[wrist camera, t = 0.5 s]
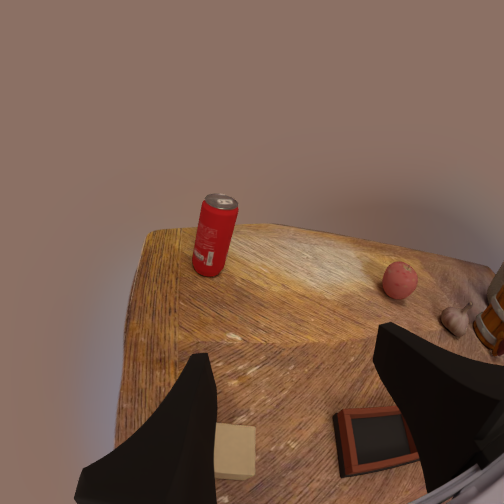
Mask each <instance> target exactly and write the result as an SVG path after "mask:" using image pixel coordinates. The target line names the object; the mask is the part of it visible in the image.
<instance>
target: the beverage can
mask: <svg viewBox="0 0 504 504" xmlns="http://www.w3.org/2000/svg"><path fill="white" fill-rule="evenodd" d="M237 214H238V202H237V201H236V200H235V199H233V198H232V197H229V196H227V195H223V194H210V195H207V196H206V197H205V200H204V201H203V203H202V207H201V213H200V218H199V223H198V229H197V234H196V240H195V246H194V252H193V258H192V263H193V265H194V269H195V271H196V272H197V273H198V274H200V275H202V276H206V277H213V276H216V275H218V274H219V273H220V271H221V270H222V269H223V268H224V265H225V261H226V257H227V253H228V249H229V245H230V241H231V237H232V234H233V230H234V226H235V222H236V218H237Z"/></svg>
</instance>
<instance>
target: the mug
mask: <svg viewBox="0 0 504 504" xmlns="http://www.w3.org/2000/svg"><path fill="white" fill-rule="evenodd" d="M473 327H474V329H475V332H476V335H477V336H478V338H479V339H480V340H481V342H482V343H484V345H485V346H487V347H488V348H489V349H492V355H493V356H494V357H495V356H497V355H498V356H500V355H502V354H504V285H502V287H501V289H500V291H499V292H498V293H497V294H495V295H494V296H493V297H492V298H491V303H490V304H489V306H488V307H487V308H486V310H485V311H484V312H481V313H480V314H478V315H477V316H476V320H475V321H474V322H473Z"/></svg>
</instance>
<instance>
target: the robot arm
mask: <svg viewBox="0 0 504 504" xmlns="http://www.w3.org/2000/svg"><path fill="white" fill-rule="evenodd" d="M373 363H374V365H375V368H376V370H377V372H378V374H379V377H380V379H381V381H382V382H383V384H384V386H385V387H386V389H387V390H388V392H389V394H390V395H391V397H392V399H393V400H394V402H395V404H396V405H397V407H398V408H399V410H400V412H401V413H402V415H403V417H404V419H405V421H406V423H407V426H408V428H409V430H410V433H411V435H412V438H413V441H414V443H415V446H416V449H417V452H418V455H419V459H420V462H421V466H422V469H423V474H424V479H425V483H426V490H427V493H428V494H426V495H424V496H422V497H420V498H418V499H416V500H414V501H412V502H410V503H408V504H441V503H443V502H444V501H446V500H448V499H449V498H451V497H453V498H452V500H451V501H449V502H448V503H446V504H504V366H501V365H494V364H488V363H484V362H480V361H476V360H472V359H469V358H466V357H463V356H460V355H457V354H455V353H452V352H450V351H447V350H445V349H443V348H441V347H439V346H436V345H434V344H432V343H430V342H428V341H426V340H425V339H423V338H421V337H419V336H417V335H415V334H413V333H411V332H410V331H408V330H406V329H404V328H402V327H400V326H398V325H396V324H394V323H392V322H389V323H385V324H381V325H379V328H378V334H377V339H376V345H375V350H374V355H373ZM216 420H217V388H216V384H215V380H214V376H213V372H212V369H211V365H210V361H209V357H208V353H198V354H192V355H191V356H190V358H189V360H188V362H187V364H186V366H185V367H184V369H183V371H182V373H181V374H180V376H179V378H178V379H177V381H176V382H175V384H174V386H173V387H172V389H171V390H170V392H169V393H168V395H167V396H166V397H165V399H164V400H163V401H162V403H161V404H160V406H159V407H158V408H157V409H156V411H155V412H154V413H153V414H152V415H151V416H150V418H149V419H148V420H147V421H146V422H145V423H144V424H143V425H142V426H141V427H140V428H139V429H138V430H137V431H136V432H135V433H134V434H133V435H132V436H131V437H130V438H128V439H127V440H126V441H125V442H124V443H122V444H121V445H120V446H118V447H117V448H116V449H114V450H113V451H112V452H110V453H109V454H107V455H106V456H104V457H103V458H101V459H100V460H98V461H96V462H94V463H92V464H91V465H89V466H87V467H85V468H83V470H82V472H81V475H80V478H79V481H78V485H77V488H76V492H75V496H74V500H75V501H76V502H77V504H217V500H216V489H215V474H214V446H215V433H216Z"/></svg>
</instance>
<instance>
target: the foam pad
mask: <svg viewBox="0 0 504 504" xmlns="http://www.w3.org/2000/svg"><path fill="white" fill-rule="evenodd" d="M214 474H215V478H219V479H230V480H246V479H248V478H250V477H252V476H254V475H255V427H254V426H243V425H234V424H226V423H218V422H216V433H215V446H214Z"/></svg>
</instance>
